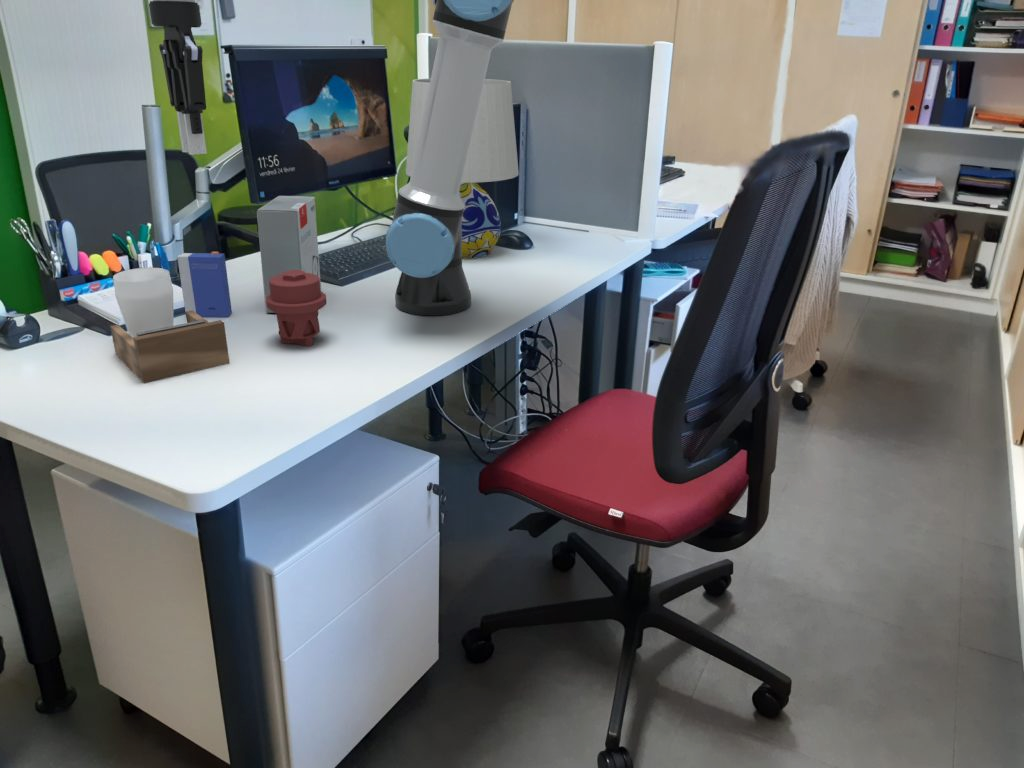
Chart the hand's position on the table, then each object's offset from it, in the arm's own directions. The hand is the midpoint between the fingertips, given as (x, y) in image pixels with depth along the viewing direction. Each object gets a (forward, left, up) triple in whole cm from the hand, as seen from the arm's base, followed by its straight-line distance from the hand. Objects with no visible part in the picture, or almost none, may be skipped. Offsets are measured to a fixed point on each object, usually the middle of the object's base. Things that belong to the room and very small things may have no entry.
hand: (194, 152), depth 136 cm
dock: (-6, +17, -31) cm, 35 cm away
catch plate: (-9, +18, -30) cm, 37 cm away
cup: (+2, +13, -31) cm, 33 cm away
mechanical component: (-20, +1, -31) cm, 37 cm away
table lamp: (-15, -68, -31) cm, 76 cm away
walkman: (+4, -2, -31) cm, 31 cm away
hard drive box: (-5, -16, -31) cm, 35 cm away
